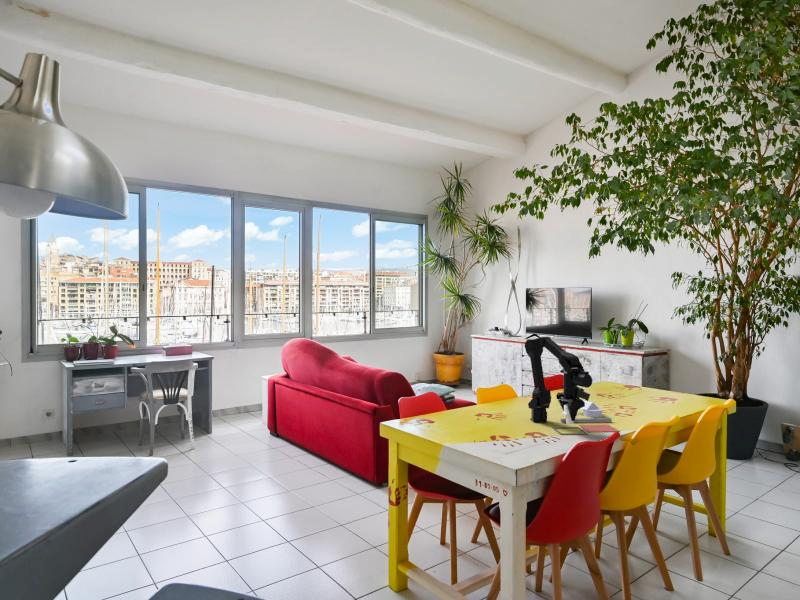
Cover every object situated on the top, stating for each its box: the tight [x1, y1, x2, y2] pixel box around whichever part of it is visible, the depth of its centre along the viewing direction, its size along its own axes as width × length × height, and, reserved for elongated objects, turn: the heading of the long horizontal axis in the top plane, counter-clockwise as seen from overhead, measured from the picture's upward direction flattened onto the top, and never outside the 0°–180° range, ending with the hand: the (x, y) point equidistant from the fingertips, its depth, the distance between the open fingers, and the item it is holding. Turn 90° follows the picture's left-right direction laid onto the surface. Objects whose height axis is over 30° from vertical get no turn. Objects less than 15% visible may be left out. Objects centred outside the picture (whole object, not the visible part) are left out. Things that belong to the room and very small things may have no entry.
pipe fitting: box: [561, 404, 579, 425], centre depth 234 cm, size 6×7×8 cm
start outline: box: [551, 426, 589, 436], centre depth 234 cm, size 12×11×1 cm
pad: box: [578, 423, 621, 433], centre depth 239 cm, size 14×12×1 cm
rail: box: [560, 417, 612, 424], centre depth 251 cm, size 24×2×2 cm, turn 93°
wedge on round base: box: [580, 399, 603, 418], centre depth 266 cm, size 9×7×13 cm
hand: (569, 418), depth 234 cm, fingers closed on pipe fitting, 7 cm apart
